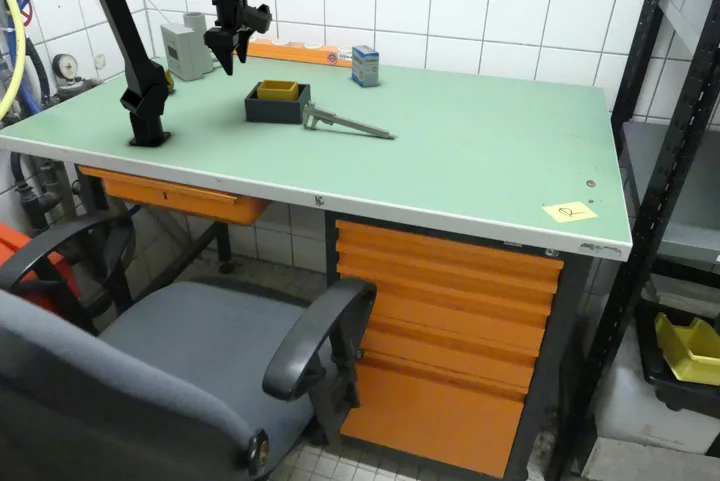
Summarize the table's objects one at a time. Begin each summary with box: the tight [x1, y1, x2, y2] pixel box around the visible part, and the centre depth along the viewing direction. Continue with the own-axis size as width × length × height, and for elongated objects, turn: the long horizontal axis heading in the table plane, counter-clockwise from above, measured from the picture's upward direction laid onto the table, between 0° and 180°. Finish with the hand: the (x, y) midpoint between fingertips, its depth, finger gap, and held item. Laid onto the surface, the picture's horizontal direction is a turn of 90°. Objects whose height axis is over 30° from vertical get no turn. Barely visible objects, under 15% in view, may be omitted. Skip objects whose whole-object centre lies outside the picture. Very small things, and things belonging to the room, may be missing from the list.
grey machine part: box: [159, 11, 220, 82], centre depth 145 cm, size 12×14×15 cm
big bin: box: [243, 81, 312, 125], centre depth 123 cm, size 12×13×5 cm
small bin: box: [257, 79, 299, 101], centre depth 123 cm, size 6×8×6 cm
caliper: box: [302, 100, 395, 139], centre depth 114 cm, size 20×1×6 cm, turn 75°
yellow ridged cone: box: [164, 69, 175, 94], centre depth 133 cm, size 5×5×10 cm
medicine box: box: [351, 44, 380, 88], centre depth 141 cm, size 8×4×9 cm, turn 25°
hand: (236, 69), depth 118 cm, fingers open, 9 cm apart
